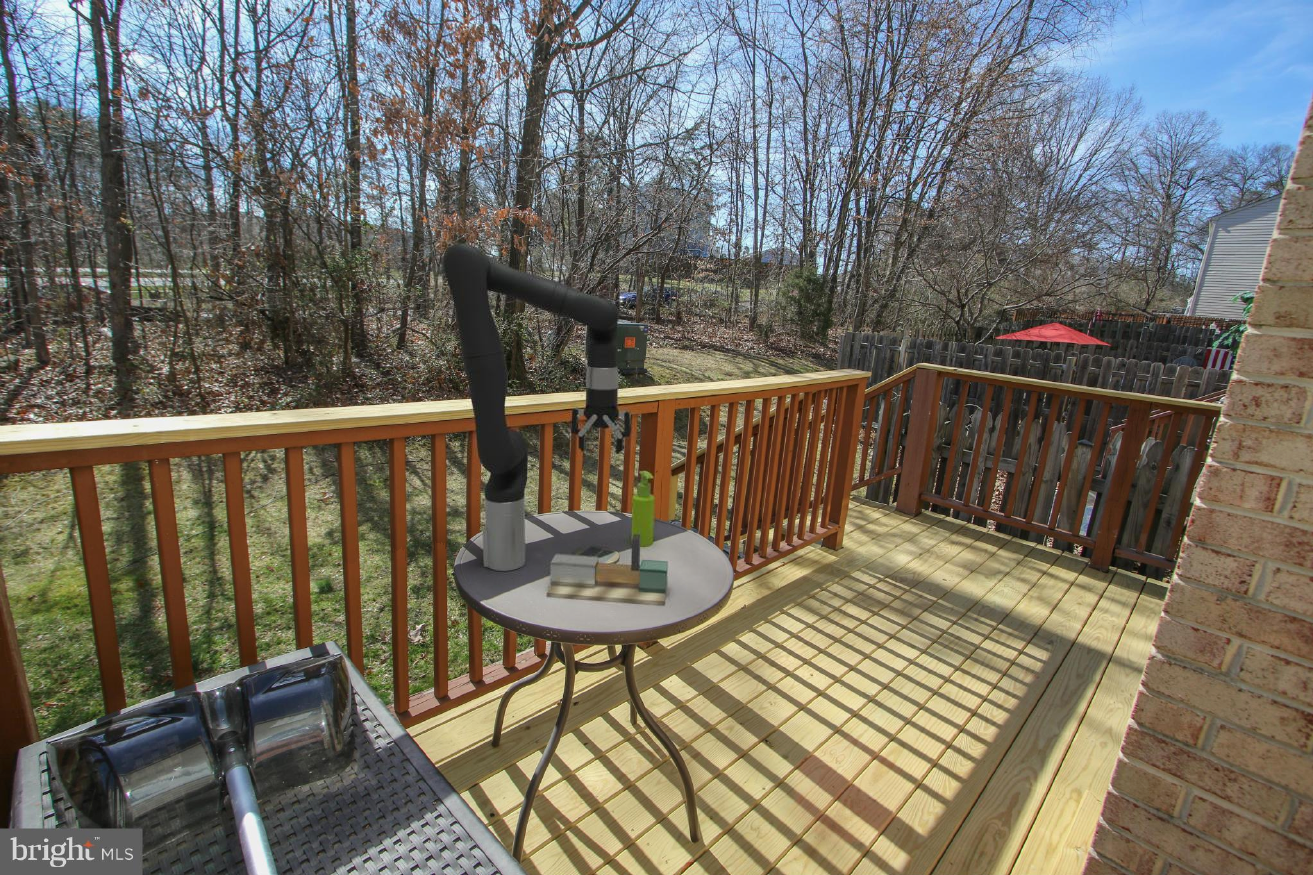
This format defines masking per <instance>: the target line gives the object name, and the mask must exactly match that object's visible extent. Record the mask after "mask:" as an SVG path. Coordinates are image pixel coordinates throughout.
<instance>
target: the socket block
mask: <svg viewBox="0 0 1313 875" xmlns="http://www.w3.org/2000/svg"><path fill="white" fill-rule="evenodd" d="M668 562H669V561H666V560H652V559H641V560H640V569H639V592H649V593H662V594H665V593H666V594H667V589H666V586H667V587H668V581H667V577H668V568H669V566H668V565H669V564H668Z"/></svg>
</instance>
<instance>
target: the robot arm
mask: <svg viewBox="0 0 1313 875" xmlns="http://www.w3.org/2000/svg"><path fill="white" fill-rule="evenodd" d="M442 262H443V264H442V266H443V271H444V275H445V278H446V281H447V284H448V287H449V291H450V295H451V298H452V300H453V301H452V302H453V305H454V309H455V313H456V319H457V320H456V321H457V329H458V336H459V337H458V338H459V342H460V349H461V356H462V363H463V366H464V371H465V376H466V379H467V384H468V390H469V395H470V400H471V402H470V403H471V406H472V410H473V417H474V424H475V436H476V437H475V438H476V449H477V456H478V459H479V461H480V464H481V465H482V467H483V468H484V469H485V470H486V471H487V472H489V473H490V474H489V477H488V480H487V483H486V484H485V487H484V509H485V510H484V511H485V513H484V514H485V527H484V528H483V530H482V550H483V567H484V568H489V569H490V570H493V571H499V572H507V571H514V570H517V569H520V568H521V567H524V565H525V563H526V516H525V515H526V513H525V512H526V511H525V510H526V509H525V507H526V504H525V503H526V502H525V490H526V486H527V482H528V469H529V467H528V466H529V464H528V463H529V450H528V444H527V440H526V439H525V437H524V436H523V434H521V432H519V431H517V430H515V429H512V428H508V424H507V418H506V398H507V391H508V381H509V380H508V379H509V375H508V374H509V373H508V366H507V360H506V354H505V348H504V346H503V342H502V339H501V338H502V337H501V336H500V332H499V330H498V326H497V324H496V322H495V319H494V316H493V314H492V311H491V307H490V301H489V293H488V292H492V293H497V294H501V295H505V296H508V297H511V298H513V299H515V300H518V301H521V302H523V303H525V304H526V305H527V304H528V305H530V306H532V307H535V308H536V309H539V310H542V311H545V312H548V313H549V314H554V315H556V316H560V317H562V318H566V319H571V320H573V321H575V322H578V323H579V324H582V325H584V326H587V327H588V346H587V357H586V358H587V364H586V366H587V368H586V375H585V382H586V383H585V408H583V409H582V408H579V407H577V406H576V407H575V408H573V409H572V412H571V425H570V427H571V428H570V433H571V434H575V435H577V436H578V449H579V450H580V451H581V452H585V451H586V447H587V446H586V445H587V444H586V438H587V436H586V433H587V432H588V430H589V429H590V428H591V427H592V428H594V429H599V428H601V429H610V430H611V431H612V433H614V435H615V436H616V437H617V438H615V439H616V443H615V444H616V445H615V446H616V448H615V453H616V455H617V454H618V455H619V454H621V452H622V451H623V448H624V438H628V437H630V435H631V434H632V422H631V421H632V420H631V417H632V416H631V411H630V410H626V411H625V410H623V411H622V410H619V409H618V408H619V407H618V401H619V400H618V398H619V397H618V394H619V393H618V392H619V373H618V345H617V340H618V339H617V338H618V337H617V336H618V335H617V334H618V322H619V320H620V319H619V318H620V312H619V309H618V307H617V306H616V304H615V303H614V302H613V301H611V300H609V299H605V298H603V297H600V296H595V295H592V294H589V293H586V292H583V291H580V290H578V289H577V288H574V287H572V286H570V285H568V284H564V283H561V282H559V281H556V280H552V279H549V278H547V277H544V276H543V277H542V276H540V275H536V274H531V273H527V272H524V271H521V270H518V269H515V268H512V267H510V266H507V265H505V264H503V263H501V262H499V261H498V260H496V259H494V258H493V257H490V256H489V255H486V254H485V253H484V252H483V251H482V250H481V249H480V248H478V247H476V246H475V245H472V244H469V243H464V242H463V243H461V242H460V243H456V244H454V245H452V246H450V247H449V249H447V251H446V253H445V255H444V257H443V261H442ZM582 415H584V417H585V419H586V420H587V422H586V423H585V424H584V425H583V427H582V428H579V421H580V420H579V419H580V418H581V417H582ZM618 417H620V418H621V420H622V421H623V422H624V430H622V429H621V428H620V425H619V424H618V422H617V421H616V420H617V419H618Z"/></svg>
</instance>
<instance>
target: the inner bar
mask: <svg viewBox="0 0 1313 875" xmlns="http://www.w3.org/2000/svg"><path fill="white" fill-rule="evenodd" d="M640 540H641V535H639V534H634V535H633V538H632V543H631V560H630V561H631V562H630V564H626V563H613V562H611V563H608V562H597V564H596V567H595V580H597V581H611V582H625V583H639V569H640V565H641V547H640Z"/></svg>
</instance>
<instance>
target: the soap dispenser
mask: <svg viewBox="0 0 1313 875" xmlns="http://www.w3.org/2000/svg"><path fill="white" fill-rule="evenodd" d="M639 474H640V482H639V483H638V484H637V493H635V494H634V495H633V496H632V508H631V509H632V511H631V536H630V538H631V539H630V540H631V541H630V543H631V544H632V538H633V535H634V534H639V535H641V540H640V548H642V547H643V548H645V547H647V548H648V547H651V546H652V545H653V544H654V526H655V525H654V523H655V502H656V501H655V499H656V498H655V496H654V495H653V494H651V487H652V486H651V483H649V482H648V480H653V479H654V476H653V475H652V473H650V472H649V471H647V470H641V471H639Z"/></svg>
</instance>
